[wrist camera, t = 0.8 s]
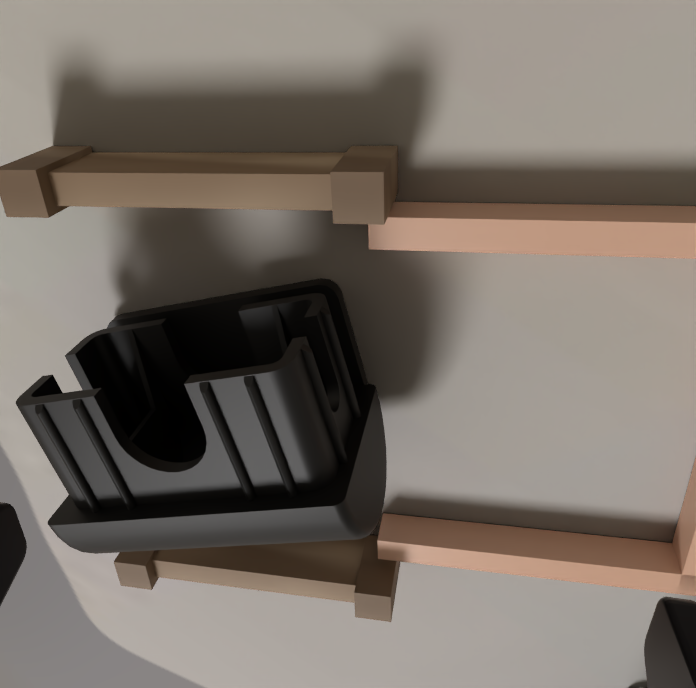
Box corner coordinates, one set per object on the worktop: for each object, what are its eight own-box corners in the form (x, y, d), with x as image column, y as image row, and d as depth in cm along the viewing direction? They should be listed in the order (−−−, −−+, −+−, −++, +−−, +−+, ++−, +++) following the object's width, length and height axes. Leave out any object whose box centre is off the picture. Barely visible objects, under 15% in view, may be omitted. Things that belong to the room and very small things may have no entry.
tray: (694, 565, 25) (706, 597, 24) (383, 531, 27) (377, 558, 26) (804, 207, 18) (828, 225, 17) (375, 201, 20) (367, 217, 19)
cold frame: (400, 562, 28) (390, 621, 25) (152, 533, 30) (121, 585, 27) (397, 145, 19) (383, 172, 17) (52, 146, 21) (-8, 169, 19)
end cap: (170, 463, 28) (86, 593, 22) (99, 316, 25) (-21, 422, 19) (398, 441, 25) (370, 584, 19) (351, 271, 22) (300, 380, 16)
